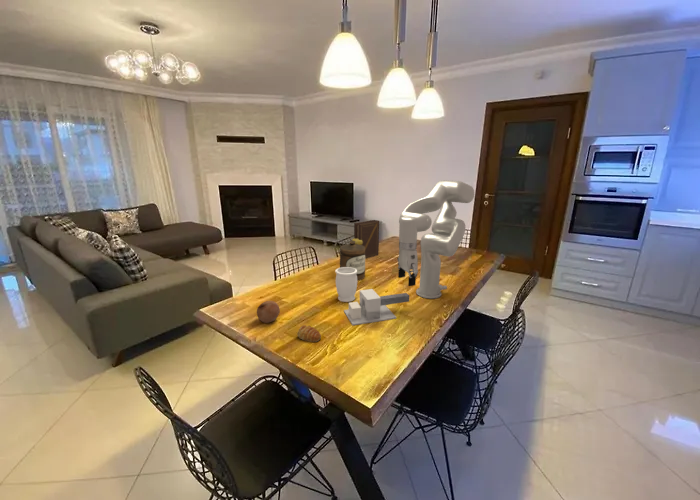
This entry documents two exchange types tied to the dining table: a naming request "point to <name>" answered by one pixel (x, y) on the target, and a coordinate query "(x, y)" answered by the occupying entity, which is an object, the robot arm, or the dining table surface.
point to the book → (367, 236)
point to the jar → (346, 283)
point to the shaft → (394, 299)
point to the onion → (268, 311)
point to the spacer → (354, 310)
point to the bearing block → (371, 309)
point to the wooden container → (353, 258)
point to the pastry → (308, 334)
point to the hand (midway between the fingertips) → (406, 281)
